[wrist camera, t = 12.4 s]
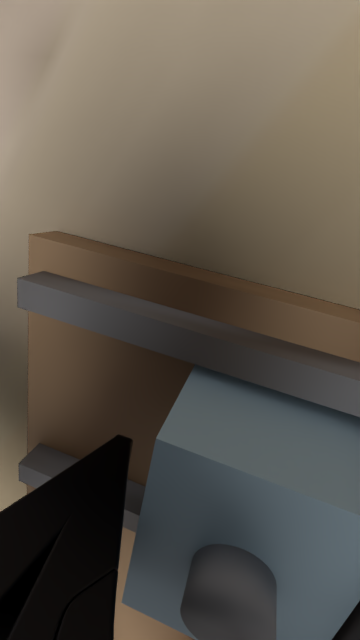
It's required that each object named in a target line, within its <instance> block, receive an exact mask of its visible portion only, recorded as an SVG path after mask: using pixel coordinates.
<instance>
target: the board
mask: <svg viewBox="0 0 360 640" xmlns="http://www.w3.org/2000/svg"><path fill="white" fill-rule="evenodd" d="M17 296H18V307H19V308H22V309H25V310H28V431H27V456H26V457H25V458H24V459H23V460H22V461H21V462H20V463H19V481H21V482H23V483H25V484H27V494H28V493H30V492H32V491H33V490H35V489H36V488H38V487H39V486H41V485H42V484H44V483H45V482H47V481H48V480H50V479H51V478H53V477H54V476H56V475H57V474H59V473H60V472H62V471H64V470H65V469H67V468H68V467H70V466H71V465H73V464H74V463H76V462H77V461H79V460H80V459H82V458H83V457H85V456H86V455H88V454H89V453H91V452H92V451H94V450H95V449H97V448H99V447H100V446H102V445H103V444H105V443H106V442H108V441H109V440H111V439H112V438H114V437H115V436H116V435H118V434H120V435H123V436H126V437H129V438H131V439H132V440H133V446H132V451H131V457H130V462H129V470H128V480H127V489H126V499H125V509H124V519H123V529H122V539H121V549H120V559H119V568H118V581H117V591H116V604H115V618H114V640H195V639H193V638H191V637H189V636H187V635H185V634H183V633H181V632H179V631H177V630H175V629H173V628H171V627H169V626H167V625H165V624H163V623H161V622H159V621H157V620H155V619H153V618H151V617H149V616H147V615H145V614H143V613H141V612H139V611H137V610H135V609H133V608H131V607H129V606H127V605H125V604H123V603H121V602H122V597H123V592H124V588H125V583H126V578H127V573H128V569H129V564H130V559H131V554H132V550H133V545H134V540H135V535H136V531H137V526H138V521H139V516H140V512H141V507H142V502H143V497H144V493H145V488H146V483H147V478H148V474H149V469H150V464H151V459H152V455H153V450H154V445H155V440H156V437H157V435H158V434H159V432H160V430H161V428H162V426H163V424H164V422H165V420H166V418H167V417H168V415H169V413H170V411H171V409H172V407H173V405H174V403H175V401H176V400H177V398H178V396H179V394H180V392H181V390H182V388H183V386H184V384H185V383H186V381H187V379H188V377H189V375H190V373H191V371H192V369H193V367H194V366H195V364H196V365H199V366H202V367H205V368H208V369H211V370H214V371H217V372H221V373H224V374H227V375H230V376H233V377H236V378H239V379H242V380H245V381H249V382H252V383H255V384H258V385H261V386H264V387H267V388H270V389H273V390H277V391H280V392H283V393H286V394H289V395H292V396H295V397H298V398H301V399H304V400H308V401H311V402H314V403H317V404H320V405H323V406H326V407H329V408H332V409H336V410H339V411H342V412H345V413H348V414H351V415H354V416H357V417H360V310H358V309H354V308H350V307H346V306H342V305H339V304H335V303H331V302H327V301H323V300H319V299H316V298H312V297H308V296H304V295H300V294H296V293H292V292H289V291H285V290H281V289H277V288H273V287H269V286H266V285H262V284H258V283H254V282H250V281H246V280H242V279H239V278H235V277H231V276H227V275H223V274H219V273H216V272H212V271H208V270H204V269H200V268H196V267H192V266H189V265H185V264H181V263H177V262H173V261H169V260H166V259H162V258H158V257H154V256H150V255H146V254H142V253H139V252H135V251H131V250H127V249H123V248H119V247H116V246H112V245H108V244H104V243H100V242H96V241H92V240H89V239H85V238H81V237H77V236H73V235H69V234H65V233H62V232H58V231H54V232H45V233H37V234H29V275H27V276H23V277H19V278H17ZM332 640H360V601H359V602H358V604H357V605H356V607H355V608H354V609H353V611H352V612H351V613H350V615H349V616H348V618H347V619H346V620H345V622H344V623H343V625H342V626H341V627H340V629H339V630H338V632H337V633H336V634H335V636H334V637H333V639H332Z"/></svg>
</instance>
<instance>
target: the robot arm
mask: <svg viewBox="0 0 360 640" xmlns="http://www.w3.org/2000/svg"><path fill="white" fill-rule="evenodd" d="M132 446H133V440H132V439H131V438H129V437H126V436H123V435H120V434H118V435H116V436H115V437H114V438H112V439H111V440H109V441H108V442H106V443H105V444H103V445H102V446H100V447H99V448H97V449H95V450H94V451H92V452H91V453H89V454H88V455H86V456H85V457H83V458H82V459H80V460H79V461H77V462H76V463H74V464H73V465H71V466H70V467H68V468H67V469H65V470H64V471H62V472H60V473H59V474H57V475H56V476H54V477H53V478H51V479H50V480H48V481H47V482H45V483H44V484H42V485H41V486H39V487H38V488H36V489H35V490H33V491H32V492H30V493H28V494H27V495H25V496H24V497H22V498H21V499H19V500H18V501H16V502H15V503H13V504H12V505H10V506H9V507H7V508H6V509H4V510H3V511H1V512H0V640H114V618H115V604H116V591H117V581H118V568H119V559H120V549H121V539H122V529H123V519H124V509H125V499H126V489H127V480H128V470H129V462H130V457H131V451H132Z"/></svg>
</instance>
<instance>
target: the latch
mask: <svg viewBox="0 0 360 640" xmlns="http://www.w3.org/2000/svg"><path fill="white" fill-rule="evenodd" d="M359 601H360V417H357V416H354V415H351V414H348V413H345V412H342V411H339V410H336V409H332V408H329V407H326V406H323V405H320V404H317V403H314V402H311V401H308V400H304V399H301V398H298V397H295V396H292V395H289V394H286V393H283V392H280V391H277V390H273V389H270V388H267V387H264V386H261V385H258V384H255V383H252V382H249V381H245V380H242V379H239V378H236V377H233V376H230V375H227V374H224V373H221V372H217V371H214V370H211V369H208V368H205V367H202V366H199V365H196V364H195V366H194V367H193V369H192V371H191V373H190V375H189V377H188V379H187V381H186V383H185V384H184V386H183V388H182V390H181V392H180V394H179V396H178V398H177V400H176V401H175V403H174V405H173V407H172V409H171V411H170V413H169V415H168V417H167V418H166V420H165V422H164V424H163V426H162V428H161V430H160V432H159V434H158V435H157V437H156V440H155V445H154V450H153V455H152V459H151V464H150V469H149V474H148V478H147V483H146V488H145V493H144V497H143V502H142V507H141V512H140V516H139V521H138V526H137V531H136V535H135V540H134V545H133V550H132V554H131V559H130V564H129V569H128V573H127V578H126V583H125V588H124V592H123V597H122V602H121V603H123V604H125V605H127V606H129V607H131V608H133V609H135V610H137V611H139V612H141V613H143V614H145V615H147V616H149V617H151V618H153V619H155V620H157V621H159V622H161V623H163V624H165V625H167V626H169V627H171V628H173V629H175V630H177V631H179V632H181V633H183V634H185V635H187V636H189V637H191V638H193V639H195V640H332V639H333V637H334V636H335V634H336V633H337V632H338V630H339V629H340V627H341V626H342V625H343V623H344V622H345V620H346V619H347V618H348V616H349V615H350V613H351V612H352V611H353V609H354V608H355V607H356V605H357V604H358V602H359Z"/></svg>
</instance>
